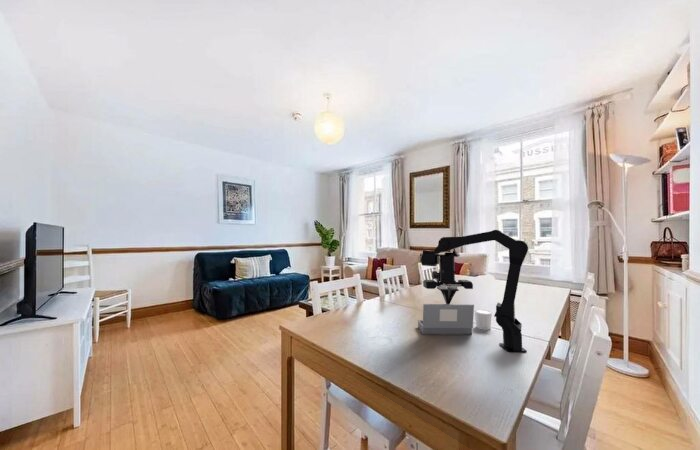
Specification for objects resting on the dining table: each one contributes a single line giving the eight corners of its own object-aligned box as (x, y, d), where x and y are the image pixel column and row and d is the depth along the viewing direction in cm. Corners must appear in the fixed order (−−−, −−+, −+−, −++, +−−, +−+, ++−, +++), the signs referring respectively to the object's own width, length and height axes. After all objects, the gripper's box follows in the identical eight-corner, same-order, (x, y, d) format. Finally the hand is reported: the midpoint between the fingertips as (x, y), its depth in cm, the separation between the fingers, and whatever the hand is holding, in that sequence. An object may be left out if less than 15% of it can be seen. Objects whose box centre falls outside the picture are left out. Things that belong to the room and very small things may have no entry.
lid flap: (472, 327, 110) (472, 328, 110) (422, 327, 111) (423, 328, 110) (473, 304, 109) (474, 304, 108) (423, 304, 109) (423, 304, 109)
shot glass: (495, 330, 115) (494, 314, 116) (479, 330, 116) (478, 313, 116) (487, 324, 122) (487, 309, 123) (472, 324, 122) (472, 309, 123)
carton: (471, 334, 110) (471, 327, 110) (423, 334, 111) (423, 327, 111) (463, 327, 119) (463, 320, 119) (418, 327, 120) (418, 320, 120)
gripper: (462, 265, 118) (462, 300, 118) (419, 264, 119) (420, 300, 118) (473, 268, 107) (473, 307, 107) (426, 268, 108) (426, 307, 107)
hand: (447, 305), depth 110 cm, fingers closed
